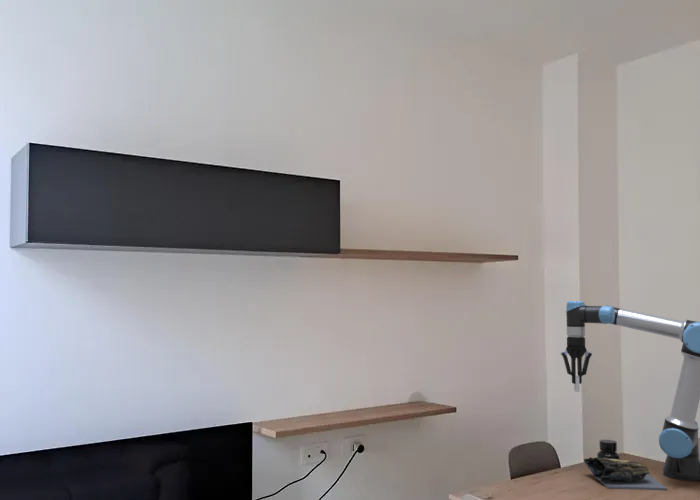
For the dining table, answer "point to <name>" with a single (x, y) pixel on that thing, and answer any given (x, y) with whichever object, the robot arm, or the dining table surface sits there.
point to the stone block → (616, 469)
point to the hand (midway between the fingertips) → (576, 391)
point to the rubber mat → (635, 484)
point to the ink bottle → (608, 449)
